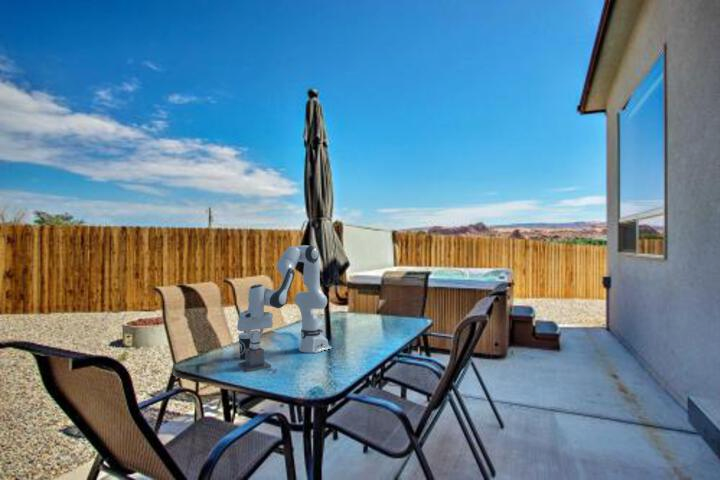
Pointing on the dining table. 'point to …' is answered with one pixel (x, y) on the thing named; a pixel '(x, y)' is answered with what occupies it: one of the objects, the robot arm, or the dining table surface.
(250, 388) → the dining table surface
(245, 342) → the coffee cup
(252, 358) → the stand
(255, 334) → the column
